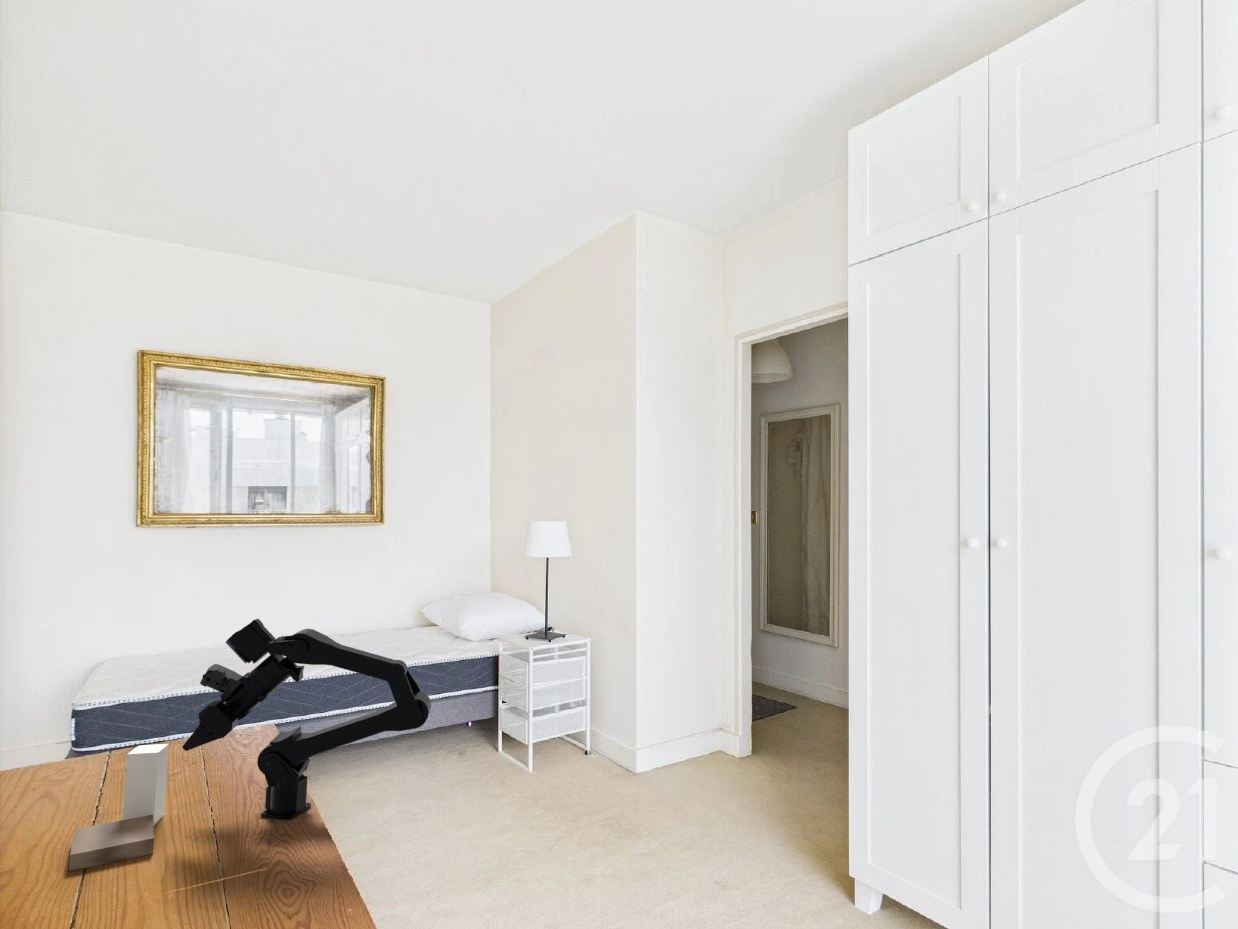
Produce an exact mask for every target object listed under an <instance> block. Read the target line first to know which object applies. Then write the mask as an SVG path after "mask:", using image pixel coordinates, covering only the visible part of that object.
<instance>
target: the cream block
mask: <svg viewBox="0 0 1238 929" xmlns="http://www.w3.org/2000/svg"><path fill="white" fill-rule="evenodd" d="M169 748H170V744H169V743H159V744H158V743H157V744H144V745H140V744H139V745H137V746H136V747H135V748H133V749H132V750H131V751H129V752H128V753H126V763H125V780H124V793H123V794H124V795H123V807H122V819H121V820H127V819H132V818H137V817H143V816H148V815H153V827H154V826H155V825H156V824H157V823H158V822H159V821H161V819H162V818H163V817H164V815H165V804H166V792H167V790H166V789H167V788H166V787H167V779H168V778H167V775H168V764H169V763H168V759H169Z"/></svg>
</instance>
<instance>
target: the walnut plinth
mask: <svg viewBox="0 0 1238 929" xmlns="http://www.w3.org/2000/svg"><path fill="white" fill-rule="evenodd" d="M154 831H155V830H154V826H153V815H148V816H143V817H137V818H132V819H127V820H122V819H121V820H116V821H112V822H111V821H110V822H105V823H99V824H96V825H95V824H94V825H90V826H85V827H80V828H75V829H74V833H73V839H72V844H71V849H70V854H69V865H68V872H73V871H78V870H84V869H87V868H92V867H98V866H102V865H107V864H111V863H116V862H121V861H126V860H130V859H135V858H139V857H143V856H149V855H152V854H154V846H155V843H154V842H155V841H154V840H155V833H154Z"/></svg>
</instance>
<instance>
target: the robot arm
mask: <svg viewBox="0 0 1238 929" xmlns="http://www.w3.org/2000/svg"><path fill="white" fill-rule="evenodd" d="M224 643H225V644H226V645H227V646H228V647H229V648H230V649H231V650H232V651H233V652H234V653H235V655H237V656H238V658H239V659H240V660H241V661H242V662H243V663H244V664H250V663H253V664H254V665H255V664H256V663H258V662H259V661H260V660H262V658H264V657H265V656H266V655H268V654H269V655H268V656H267V657H266V658H265V659H264V660H262V661H261V663H259V664H258V665H257V666H256V667H255V668H253V669H252V670H251V671H248V672H246V673H245V674H244V675H241V674H239V673H237V672H236V671H234V670H232V669H230V668H228V667H226V666H223V665H221V664H219V663H214V664H212V665H210V666H209V667H208V668H207V669H206V672H205V673H203V675H202V678H201V679H200V681H199V684H200V685H202V686H203V687H208V688H210V689H212V690H215V691H218V692H220V693H221V694H220V695H219V697H220V699H221V700H214V701H212V702H210V703H209V704H208V705H206V706H205V707H203V709H201V711H199V712H198V720H199V722H198V723H199V724H198V726H197V727H196V728H195V729H194V730H193V732H192V733H191V735H190V736H189V737H188V738H187V740H185V742H184V744H183V745H182V749H183V750H184V752H187V751H190V750H193V749H196V748H199V747H201V746H204V745H205V744H208V743H212V742H214V741H216V740H219V739H220V740H221V739H223V738H225V737H226V736H227V735H228V734H229V733H231V732H232V731H233V730H234V729H235V728H236V727H237V726H238V722H239V721H240V720H242V719H244V718H245V717H247V715H249V714H250V713H251V712H253V711H254V710H255V709H256V708H257V707H258V706H259V705H260V704H261V703H263V702H264V700H266V699H267V698H268V697H269V696H270V695H271V694H272V693H273V692H274V691H276V690H277V689H278V688H279V687H280V686H281V685H282V684H284V683H285V682H287V680H288V679H289V678H290V677H291V679H292V680H293V681H294V682H295V683H299V682H300V681H301V680H303V678H304V669H305V665H308V666H309V665H310V666H332V667H335V668H339V669H343V670H346V671H350V672H354V673H357V674H361V675H364V676H366V677H367V676H368V677H371V678H375V679H378V680H382V681H385V682H387V683H388V686H389V688H390V690H391V693H392V696H393V700H394V701H393V702H392V703H391V704H389V705H387V706H386V707H384V708H382V709H380V710H376V711H374V712H370V713H368V714H365V715H361V716H358V717H356V718H352V719H349V720H347V721H346V720H345V721H343V722H340V723H337V724H335V725H332V726H328V727H325V728H323V729H319V730H317V731H313V732H302V726H297V727H295V728H293V729H292V730H289V731H280V732H279V733H278V734H277V735H276V736H275V737H274V738H273V739H272V740H271V741H269V743H268V744H267V745H266V746H265V747H264V748H263V749H261V751H260V752H259V755H258V757H257V760H256V763H257V767H258V770H259V771H260V772H261V774H263V775H264V778H265V781H266V783H267V786H266V788H265V798H264V800H265V801H264V809H265V810H264V811H262V812H260V816H261V817H265V818H275V819H284V820H291V819H294V818H295V817H296V816H298V815H299V814H301V813H303V812H304V811H306V810H307V809H309V808H310V807H312V803H311V802H307V794H308V792H307V791H308V790H307V789H308V776H307V775H305V774H304V773H305V772H306V771H307V770H308V768H309V765H310V763H311V759H310V758H311V757H312V756H317V755H319V754H321V753H325V752H328V751H330V750H334V749H337V748H339V747H343V746H345V745H349V744H351V743H355V742H357V741H360V740H363V739H365V738H366V739H367V738H369V737H372V736H376V735H378V734H381V733H385V732H402V731H403V732H404V731H412V730H416V729H418V728H421V727H422V726H424V725H425V723H426V721H427V720H428V717H429V715H430V712H431V709H432V701H431V698H430V697H429V696H428V694H426V693H425V692H423V691H422V690H421V688H420V686H419V685H418V683H417V681H416V679H415V678H414V677H413V675H412V674H411V672H410V670H409V668H408V666H407V663H406V662H404V661H403V660H401V659H392V658H390V657H386V656H383V655H379V654H375V653H372V652H368V651H365V650H362V649H358V648H354V647H352V646H351V647H350V646H347V645H343V644H341V643H339V642H337V641H336V640H334V639H332V638H331V637H330V636H328V635H325V634H324V633H322V632H319V631H318V630H316V629H313V628H304V629H301V630H299V631H297V632H296V633H294V634H291V635H281V636H278V637H277V638H276V637H275V636H274V635H273V634H272V633H271V632H270V631H269V630H268V629H267V627H265V624H263V622H262V621H261V620H260V618H255V619H253V620H252V621H251V622H250V623H248V624H246V625H245V626H244V627H242V628H241V629H239V630H237V631H236V632H234V633H233V634H232V635H231V636H229V637H228V638H227V640H226V641H225V642H224ZM298 664H301V665H298Z"/></svg>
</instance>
